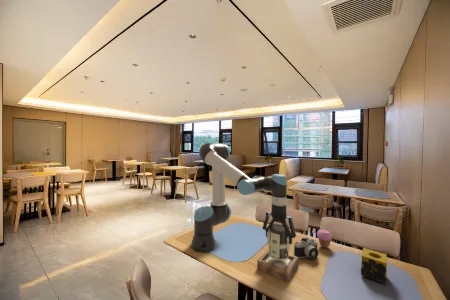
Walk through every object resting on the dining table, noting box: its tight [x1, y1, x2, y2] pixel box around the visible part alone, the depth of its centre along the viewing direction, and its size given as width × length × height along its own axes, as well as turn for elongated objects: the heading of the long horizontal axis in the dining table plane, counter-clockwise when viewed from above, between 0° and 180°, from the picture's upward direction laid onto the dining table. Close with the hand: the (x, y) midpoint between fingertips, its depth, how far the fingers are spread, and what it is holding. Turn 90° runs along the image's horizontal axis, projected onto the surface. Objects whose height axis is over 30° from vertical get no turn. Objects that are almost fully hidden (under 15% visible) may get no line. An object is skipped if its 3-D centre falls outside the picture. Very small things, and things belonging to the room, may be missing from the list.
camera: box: [293, 236, 319, 260], centre depth 112 cm, size 16×9×10 cm, turn 106°
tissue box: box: [360, 247, 388, 284], centre depth 97 cm, size 10×10×10 cm
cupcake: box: [316, 229, 333, 248], centre depth 125 cm, size 9×9×10 cm
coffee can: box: [268, 224, 289, 260], centre depth 102 cm, size 10×10×14 cm
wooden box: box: [256, 248, 299, 283], centre depth 102 cm, size 16×16×4 cm
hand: (278, 246), depth 102 cm, fingers closed on coffee can, 10 cm apart
